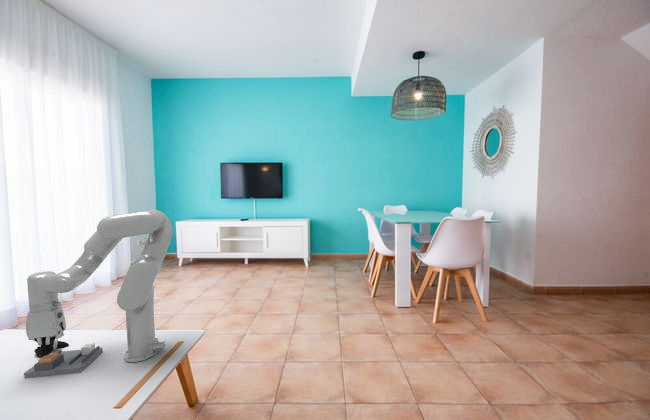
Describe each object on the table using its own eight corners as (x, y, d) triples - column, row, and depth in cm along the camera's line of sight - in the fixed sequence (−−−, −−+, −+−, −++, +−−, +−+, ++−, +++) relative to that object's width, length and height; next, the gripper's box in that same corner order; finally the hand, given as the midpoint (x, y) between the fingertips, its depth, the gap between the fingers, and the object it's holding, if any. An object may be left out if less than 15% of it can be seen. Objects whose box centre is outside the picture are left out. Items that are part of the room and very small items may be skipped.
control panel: (102, 352, 115) (101, 341, 115) (80, 372, 102) (79, 360, 102) (53, 356, 112) (52, 346, 112) (24, 378, 99) (23, 366, 99)
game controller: (44, 356, 111) (32, 345, 112) (39, 365, 112) (28, 355, 112) (70, 343, 120) (59, 333, 121) (66, 352, 121) (55, 342, 122)
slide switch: (95, 350, 113) (94, 343, 112) (90, 354, 110) (89, 347, 110) (86, 351, 112) (86, 344, 112) (81, 355, 109) (81, 348, 109)
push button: (59, 357, 105) (59, 352, 105) (51, 363, 101) (50, 358, 101) (47, 358, 105) (47, 353, 104) (38, 364, 101) (38, 360, 101)
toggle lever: (58, 349, 111) (61, 333, 113) (55, 350, 110) (58, 333, 111) (53, 350, 111) (56, 333, 113) (49, 351, 109) (52, 334, 111)
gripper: (74, 300, 106) (77, 346, 108) (29, 303, 104) (33, 349, 105) (59, 308, 99) (62, 357, 100) (10, 311, 96) (14, 361, 98)
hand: (47, 353), depth 103 cm, fingers closed
